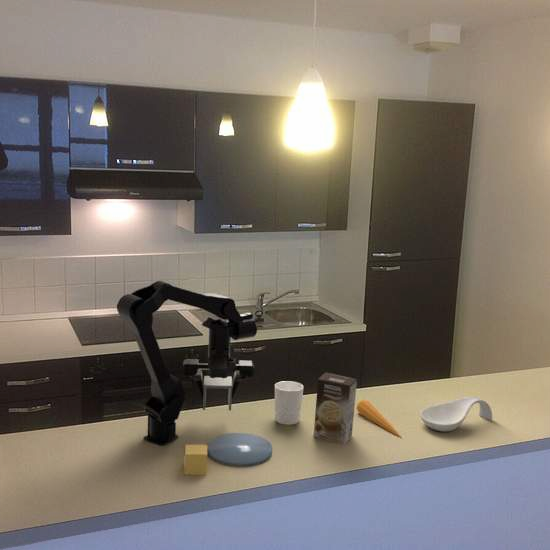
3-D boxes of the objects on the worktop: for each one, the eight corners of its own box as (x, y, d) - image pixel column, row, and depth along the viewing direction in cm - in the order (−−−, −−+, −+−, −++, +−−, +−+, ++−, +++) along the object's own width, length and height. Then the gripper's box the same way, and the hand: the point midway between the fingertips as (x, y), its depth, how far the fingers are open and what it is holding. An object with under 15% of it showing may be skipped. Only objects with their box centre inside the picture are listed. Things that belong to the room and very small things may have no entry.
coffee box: (312, 436, 178) (316, 378, 175) (321, 428, 184) (324, 371, 181) (345, 444, 174) (349, 385, 171) (353, 435, 180) (357, 378, 177)
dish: (194, 454, 165) (194, 449, 164) (230, 432, 178) (231, 427, 178) (249, 472, 157) (249, 467, 157) (283, 448, 170) (284, 443, 170)
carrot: (356, 414, 197) (352, 402, 195) (368, 407, 198) (365, 395, 196) (397, 449, 180) (394, 436, 178) (410, 440, 181) (407, 427, 179)
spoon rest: (439, 439, 181) (442, 414, 180) (410, 423, 191) (412, 399, 189) (501, 425, 193) (504, 401, 191) (470, 410, 203) (473, 388, 201)
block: (185, 464, 159) (185, 444, 158) (206, 464, 160) (207, 444, 159) (184, 474, 154) (185, 454, 153) (206, 474, 155) (207, 454, 154)
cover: (203, 399, 185) (204, 375, 184) (230, 400, 186) (231, 376, 184) (202, 409, 178) (203, 385, 177) (231, 410, 178) (232, 385, 177)
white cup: (298, 427, 183) (300, 392, 182) (270, 423, 185) (272, 389, 183) (303, 416, 191) (305, 382, 189) (276, 413, 192) (277, 379, 191)
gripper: (182, 350, 170) (180, 409, 173) (256, 352, 172) (253, 410, 174) (184, 338, 181) (182, 393, 184) (254, 340, 182) (251, 395, 185)
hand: (217, 398), depth 181 cm, fingers closed on cover, 7 cm apart
